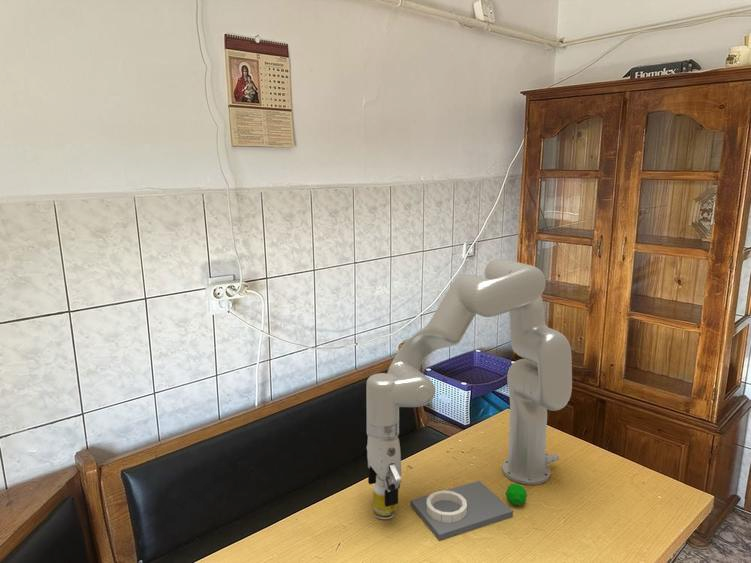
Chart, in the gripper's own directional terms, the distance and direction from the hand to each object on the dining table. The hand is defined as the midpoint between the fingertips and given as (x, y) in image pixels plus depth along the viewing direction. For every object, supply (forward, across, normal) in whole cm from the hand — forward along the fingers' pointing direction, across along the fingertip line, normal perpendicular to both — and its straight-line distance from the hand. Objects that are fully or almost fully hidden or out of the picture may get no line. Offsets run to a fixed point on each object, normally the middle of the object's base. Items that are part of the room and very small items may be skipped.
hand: (382, 493), depth 128 cm
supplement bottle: (+6, 0, -1) cm, 6 cm away
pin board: (+5, -7, -18) cm, 20 cm away
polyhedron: (+5, -10, -32) cm, 33 cm away
